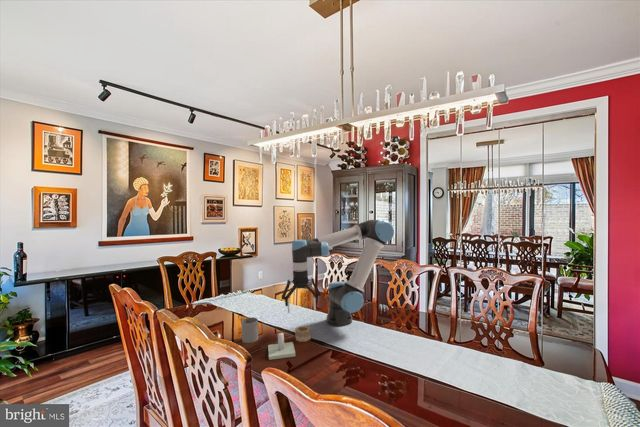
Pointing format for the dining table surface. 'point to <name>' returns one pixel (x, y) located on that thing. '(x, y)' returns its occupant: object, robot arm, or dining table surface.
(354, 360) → the dining table surface
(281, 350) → the post stand
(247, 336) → the cup
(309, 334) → the ring
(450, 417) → the dining table surface
